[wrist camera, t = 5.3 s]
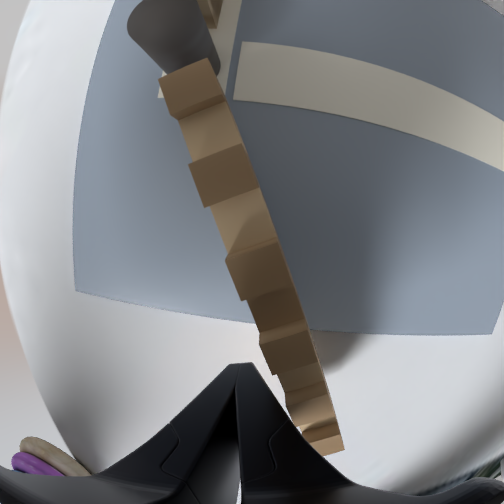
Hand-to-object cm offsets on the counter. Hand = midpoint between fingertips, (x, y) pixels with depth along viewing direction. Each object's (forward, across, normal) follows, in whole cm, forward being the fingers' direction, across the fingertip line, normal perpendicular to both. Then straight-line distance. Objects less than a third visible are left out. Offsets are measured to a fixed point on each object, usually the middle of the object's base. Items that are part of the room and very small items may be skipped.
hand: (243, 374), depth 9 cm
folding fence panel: (+2, -1, -3) cm, 4 cm away
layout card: (+2, -5, -9) cm, 10 cm away
